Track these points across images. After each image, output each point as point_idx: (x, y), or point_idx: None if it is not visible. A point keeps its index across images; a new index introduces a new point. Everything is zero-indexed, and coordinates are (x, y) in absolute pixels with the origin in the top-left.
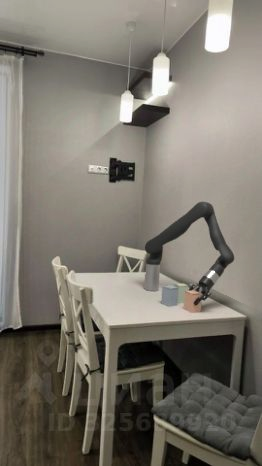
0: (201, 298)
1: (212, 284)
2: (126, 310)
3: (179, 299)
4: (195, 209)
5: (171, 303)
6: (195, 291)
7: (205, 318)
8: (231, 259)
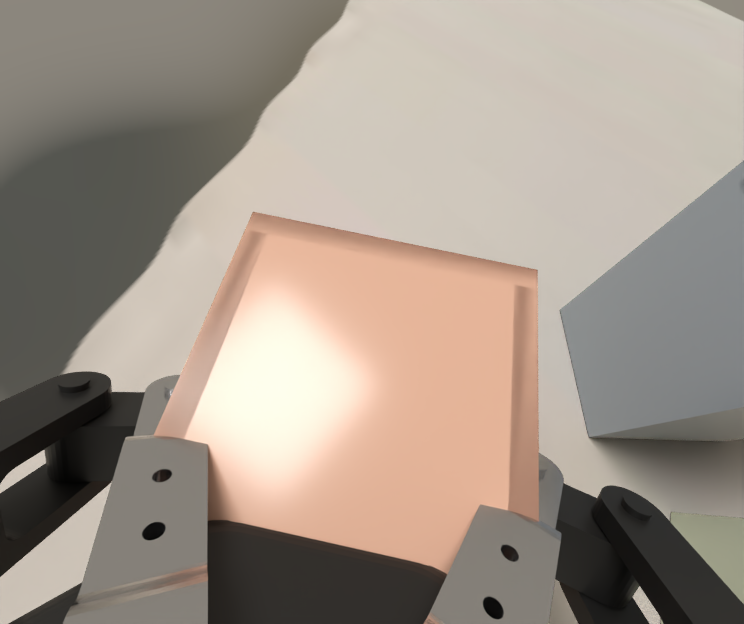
0: (112, 393)
1: None
2: (563, 42)
3: (716, 553)
4: None
5: (584, 326)
6: (390, 510)
7: (91, 338)
8: None
